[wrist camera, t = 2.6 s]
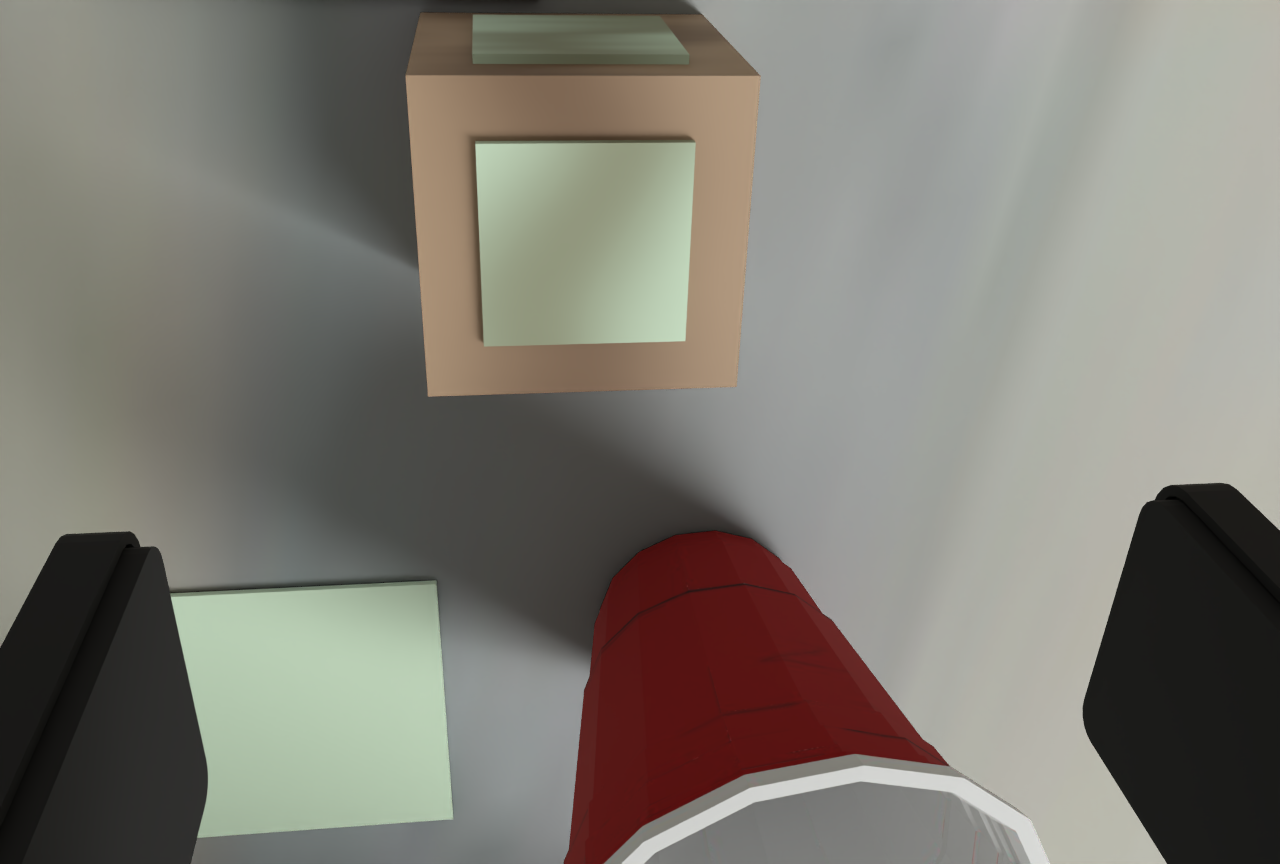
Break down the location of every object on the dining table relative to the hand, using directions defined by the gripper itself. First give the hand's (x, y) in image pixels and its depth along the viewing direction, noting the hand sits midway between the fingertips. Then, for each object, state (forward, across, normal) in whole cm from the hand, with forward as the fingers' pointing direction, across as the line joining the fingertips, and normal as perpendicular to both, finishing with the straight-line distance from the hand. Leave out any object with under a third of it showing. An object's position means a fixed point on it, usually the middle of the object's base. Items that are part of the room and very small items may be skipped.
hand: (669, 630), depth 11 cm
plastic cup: (+17, -4, +14) cm, 22 cm away
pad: (+17, +8, +17) cm, 25 cm away
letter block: (+17, 0, 0) cm, 17 cm away
